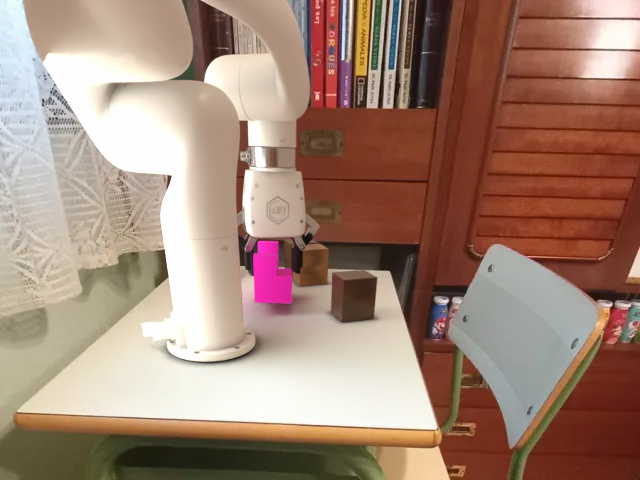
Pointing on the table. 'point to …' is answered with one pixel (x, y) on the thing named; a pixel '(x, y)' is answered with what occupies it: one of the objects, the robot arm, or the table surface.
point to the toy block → (271, 275)
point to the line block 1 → (290, 252)
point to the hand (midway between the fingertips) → (274, 272)
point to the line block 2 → (353, 295)
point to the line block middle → (313, 266)
